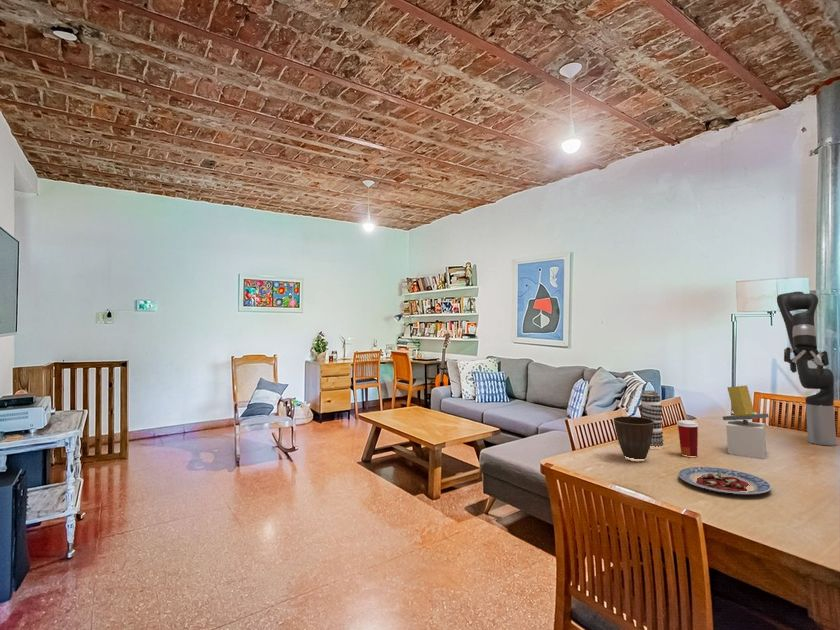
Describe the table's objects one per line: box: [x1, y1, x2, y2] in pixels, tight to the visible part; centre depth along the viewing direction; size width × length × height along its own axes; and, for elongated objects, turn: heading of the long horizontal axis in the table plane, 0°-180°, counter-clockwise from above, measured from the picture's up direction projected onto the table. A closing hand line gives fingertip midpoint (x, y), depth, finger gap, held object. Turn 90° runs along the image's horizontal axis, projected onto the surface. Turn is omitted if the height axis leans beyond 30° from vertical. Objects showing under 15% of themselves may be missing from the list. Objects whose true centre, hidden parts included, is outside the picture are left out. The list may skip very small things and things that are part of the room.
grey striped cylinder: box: [639, 389, 664, 447], centre depth 193 cm, size 9×9×25 cm
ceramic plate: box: [677, 466, 772, 495], centre depth 145 cm, size 26×26×3 cm
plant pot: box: [613, 416, 654, 460], centre depth 176 cm, size 15×15×16 cm
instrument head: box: [722, 385, 770, 421], centre depth 182 cm, size 12×10×14 cm
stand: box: [725, 419, 767, 460], centre depth 180 cm, size 12×12×14 cm
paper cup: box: [676, 419, 699, 457], centre depth 179 cm, size 8×8×14 cm
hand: (806, 373), depth 178 cm, fingers open, 8 cm apart
